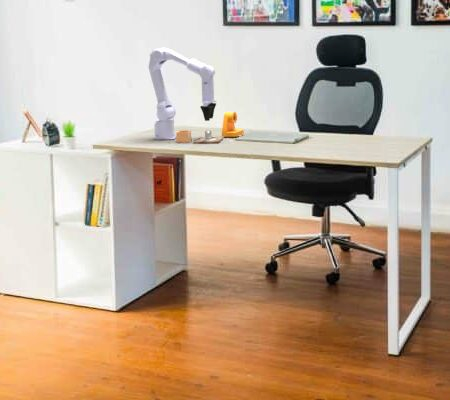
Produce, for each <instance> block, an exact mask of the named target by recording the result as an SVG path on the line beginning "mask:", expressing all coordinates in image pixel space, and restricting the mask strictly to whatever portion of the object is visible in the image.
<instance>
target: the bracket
mask: <svg viewBox="0 0 450 400" xmlns="http://www.w3.org/2000/svg"><path fill="white" fill-rule="evenodd" d="M237 119H238V114H237V112H236V111H225V112H224V114H223V118H222V120H223V121H222V129H221V137H223V138H239V137H238V136H239V135H242V136H243V134H245V130H244V129H242V128H239V129H237V128H236V127H235V124H236V123H237V121H238V120H237Z"/></svg>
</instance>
